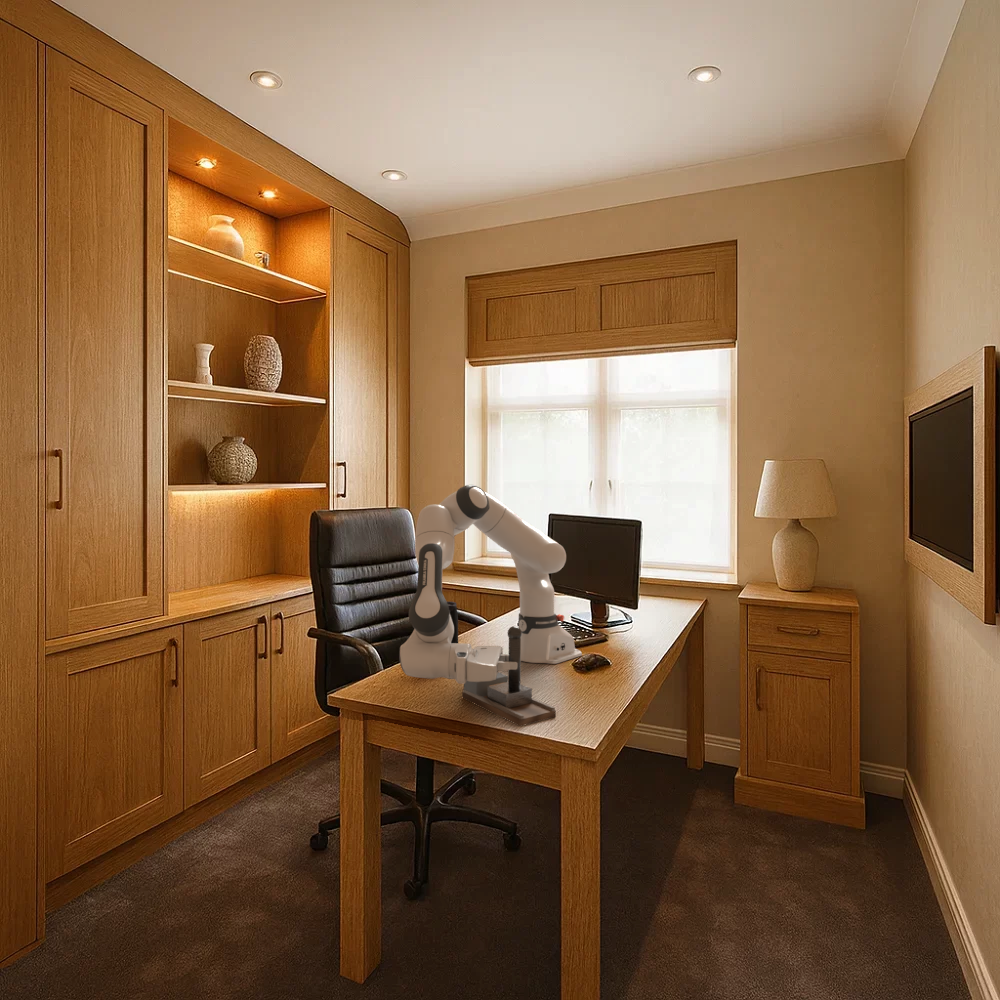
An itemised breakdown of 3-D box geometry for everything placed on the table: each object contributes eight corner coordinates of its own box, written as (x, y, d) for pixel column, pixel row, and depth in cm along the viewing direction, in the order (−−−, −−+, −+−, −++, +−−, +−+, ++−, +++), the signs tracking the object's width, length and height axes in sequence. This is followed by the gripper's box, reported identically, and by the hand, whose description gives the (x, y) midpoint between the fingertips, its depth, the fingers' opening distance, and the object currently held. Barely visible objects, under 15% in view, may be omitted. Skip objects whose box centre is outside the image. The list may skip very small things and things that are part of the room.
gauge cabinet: (494, 685, 189) (494, 668, 189) (507, 690, 185) (507, 673, 184) (463, 691, 184) (463, 674, 183) (476, 697, 179) (476, 680, 179)
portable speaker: (453, 661, 218) (454, 600, 218) (461, 669, 210) (461, 605, 209) (426, 663, 216) (427, 601, 215) (433, 672, 207) (433, 606, 206)
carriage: (512, 694, 181) (513, 620, 180) (531, 702, 175) (532, 625, 174) (487, 700, 176) (487, 623, 176) (506, 708, 170) (506, 629, 169)
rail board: (496, 690, 190) (496, 682, 190) (555, 716, 170) (555, 707, 170) (462, 697, 183) (462, 689, 183) (520, 726, 163) (520, 716, 163)
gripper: (468, 662, 185) (520, 663, 184) (457, 685, 165) (515, 687, 164) (468, 639, 185) (520, 640, 184) (457, 659, 165) (515, 661, 163)
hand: (518, 662), depth 174 cm, fingers closed on carriage, 3 cm apart
